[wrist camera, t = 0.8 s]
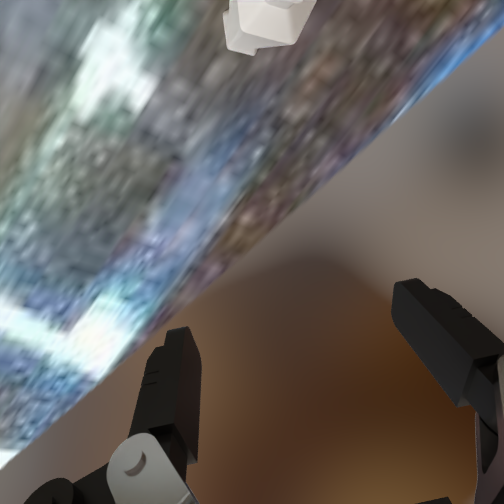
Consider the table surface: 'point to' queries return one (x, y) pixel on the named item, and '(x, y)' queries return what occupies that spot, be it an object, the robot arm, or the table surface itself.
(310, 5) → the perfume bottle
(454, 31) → the table surface
